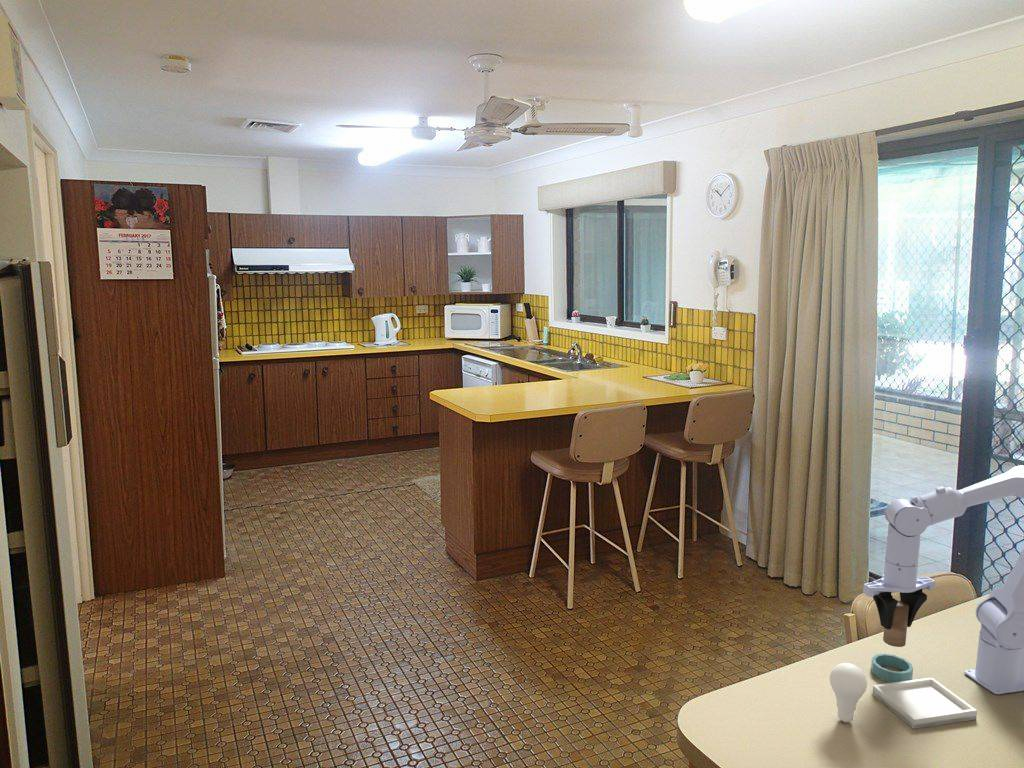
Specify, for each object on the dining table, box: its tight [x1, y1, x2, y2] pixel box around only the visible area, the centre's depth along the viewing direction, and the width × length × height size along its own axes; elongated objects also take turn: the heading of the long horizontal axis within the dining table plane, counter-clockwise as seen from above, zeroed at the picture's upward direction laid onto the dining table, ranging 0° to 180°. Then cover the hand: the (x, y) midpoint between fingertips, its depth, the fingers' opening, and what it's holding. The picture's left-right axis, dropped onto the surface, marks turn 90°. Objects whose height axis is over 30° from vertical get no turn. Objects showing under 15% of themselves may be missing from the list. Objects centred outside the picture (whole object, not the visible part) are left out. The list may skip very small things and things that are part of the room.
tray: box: [871, 677, 978, 730], centre depth 141 cm, size 13×11×2 cm
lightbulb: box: [829, 662, 868, 723], centre depth 135 cm, size 6×6×11 cm
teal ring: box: [870, 653, 914, 683], centre depth 152 cm, size 7×7×2 cm
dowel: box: [882, 599, 909, 648], centre depth 150 cm, size 4×4×8 cm
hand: (895, 625), depth 150 cm, fingers closed on dowel, 4 cm apart
